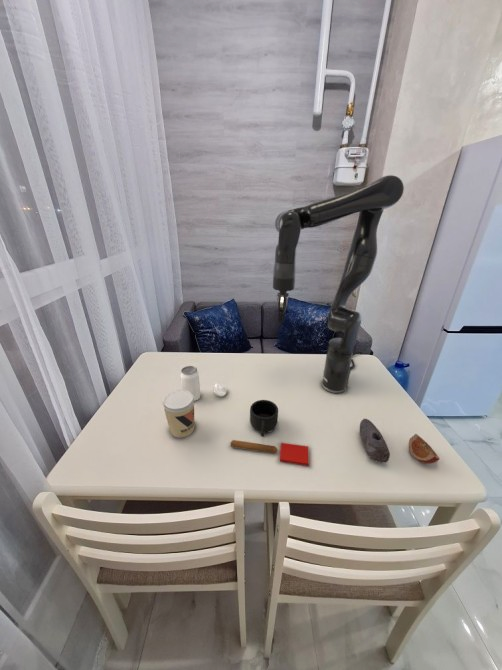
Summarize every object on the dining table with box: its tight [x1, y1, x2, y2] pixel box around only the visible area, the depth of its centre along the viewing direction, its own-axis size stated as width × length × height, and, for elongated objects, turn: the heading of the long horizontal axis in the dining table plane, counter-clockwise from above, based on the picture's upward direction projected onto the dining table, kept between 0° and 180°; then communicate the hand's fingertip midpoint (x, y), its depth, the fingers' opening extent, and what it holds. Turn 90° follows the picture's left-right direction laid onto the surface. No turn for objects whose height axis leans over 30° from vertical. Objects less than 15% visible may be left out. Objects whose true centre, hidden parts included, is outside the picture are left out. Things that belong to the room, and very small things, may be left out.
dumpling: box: [213, 382, 227, 398], centre depth 101 cm, size 7×5×4 cm
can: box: [180, 365, 201, 402], centre depth 97 cm, size 6×6×12 cm
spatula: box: [230, 439, 310, 467], centre depth 77 cm, size 23×6×2 cm, turn 80°
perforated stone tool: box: [359, 418, 391, 464], centre depth 78 cm, size 15×5×7 cm, turn 176°
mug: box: [249, 399, 279, 437], centre depth 84 cm, size 12×9×7 cm
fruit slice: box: [408, 433, 440, 464], centre depth 75 cm, size 8×7×5 cm
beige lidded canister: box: [162, 389, 195, 439], centre depth 83 cm, size 9×9×12 cm
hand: (281, 321), depth 98 cm, fingers closed
